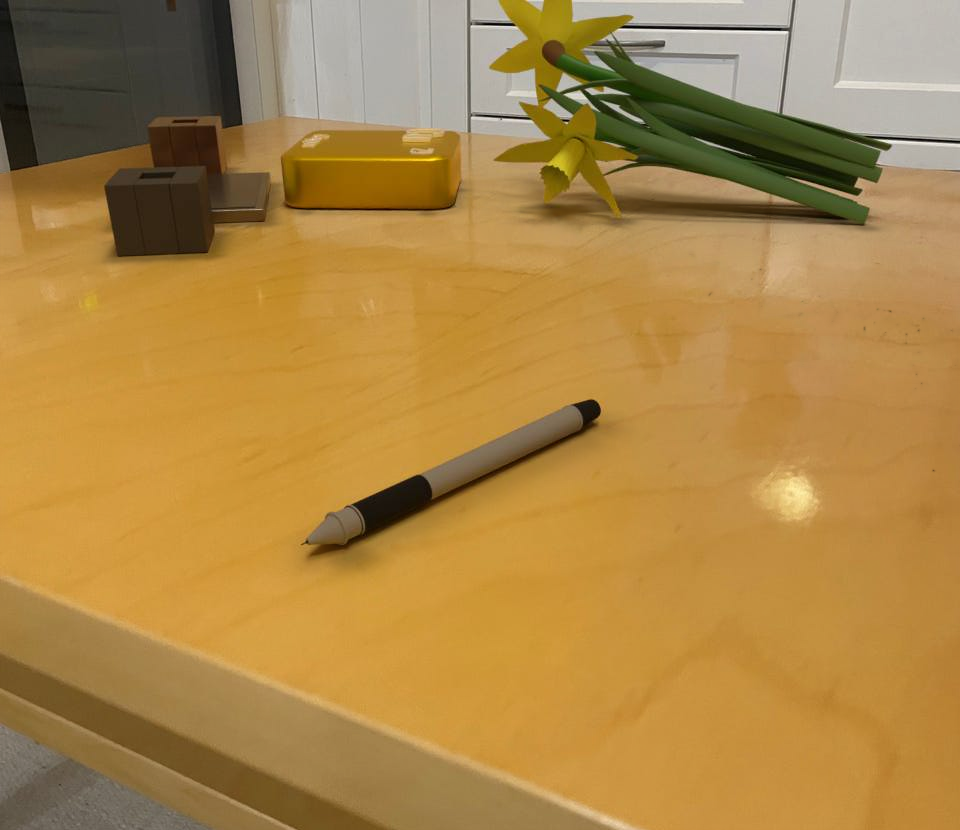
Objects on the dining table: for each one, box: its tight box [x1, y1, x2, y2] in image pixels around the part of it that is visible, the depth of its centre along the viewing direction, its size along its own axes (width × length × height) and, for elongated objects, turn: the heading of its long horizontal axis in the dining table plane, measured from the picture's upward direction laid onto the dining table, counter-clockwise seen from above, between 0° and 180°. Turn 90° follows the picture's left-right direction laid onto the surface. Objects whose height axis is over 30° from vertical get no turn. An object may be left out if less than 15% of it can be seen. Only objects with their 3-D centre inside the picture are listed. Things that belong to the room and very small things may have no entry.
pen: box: [300, 398, 602, 546], centre depth 38 cm, size 1×16×1 cm, turn 136°
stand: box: [146, 115, 228, 174], centre depth 94 cm, size 6×6×5 cm
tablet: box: [207, 171, 272, 224], centre depth 83 cm, size 12×16×1 cm
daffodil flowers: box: [488, 0, 893, 225], centre depth 78 cm, size 17×15×35 cm
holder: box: [103, 166, 216, 257], centre depth 70 cm, size 6×6×5 cm
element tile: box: [280, 127, 462, 210], centre depth 86 cm, size 15×15×5 cm
